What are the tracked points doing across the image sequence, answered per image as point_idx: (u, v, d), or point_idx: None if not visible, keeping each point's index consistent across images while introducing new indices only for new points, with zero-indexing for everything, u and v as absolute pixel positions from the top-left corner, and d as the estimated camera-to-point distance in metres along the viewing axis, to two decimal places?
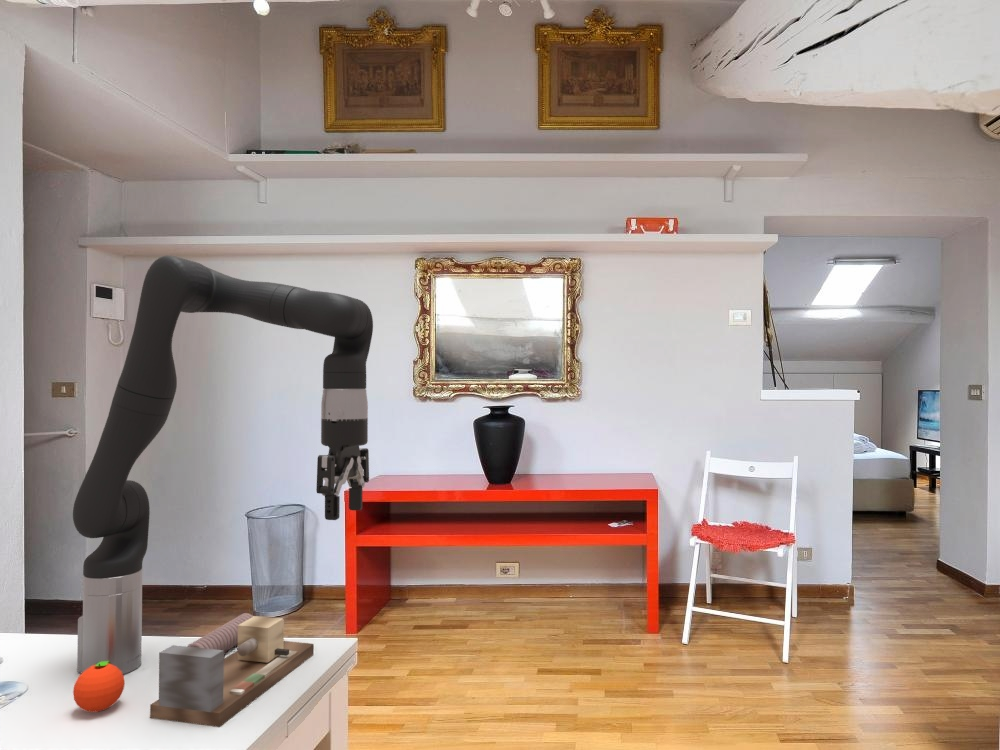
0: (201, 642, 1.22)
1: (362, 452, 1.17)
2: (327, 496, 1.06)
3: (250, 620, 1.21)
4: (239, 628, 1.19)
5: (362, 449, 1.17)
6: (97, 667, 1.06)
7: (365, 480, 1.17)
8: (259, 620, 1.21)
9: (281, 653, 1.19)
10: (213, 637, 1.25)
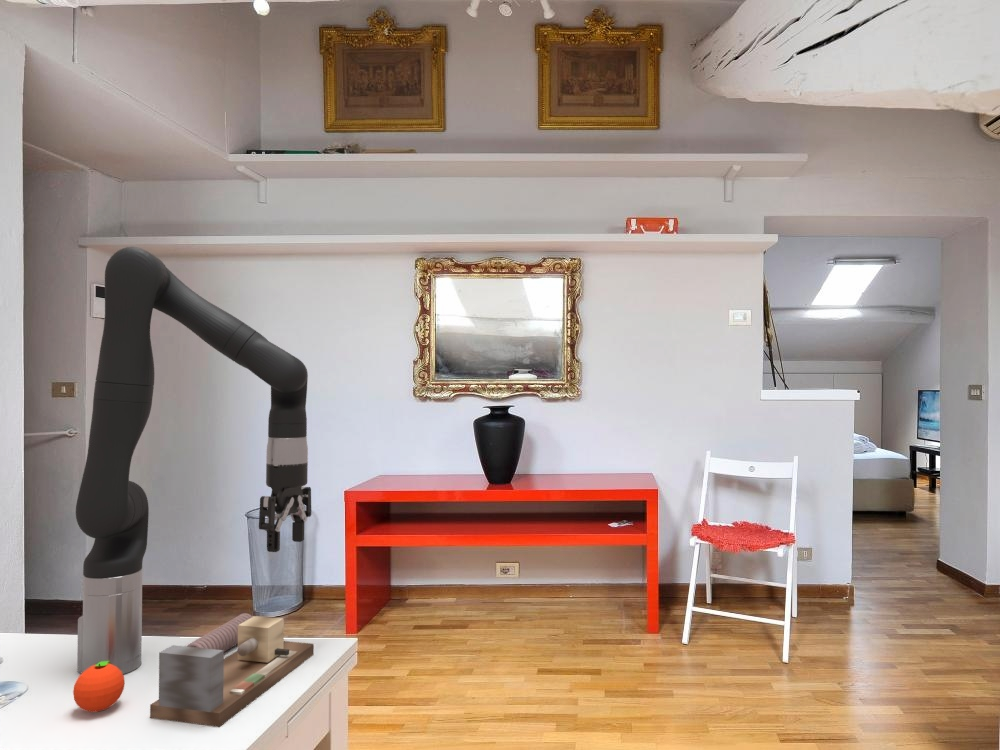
0: (200, 642, 1.22)
1: (305, 490, 1.33)
2: (268, 531, 1.23)
3: (250, 620, 1.21)
4: (239, 628, 1.19)
5: (305, 488, 1.34)
6: (97, 667, 1.06)
7: (307, 515, 1.33)
8: (259, 620, 1.21)
9: (281, 653, 1.19)
10: (212, 637, 1.25)
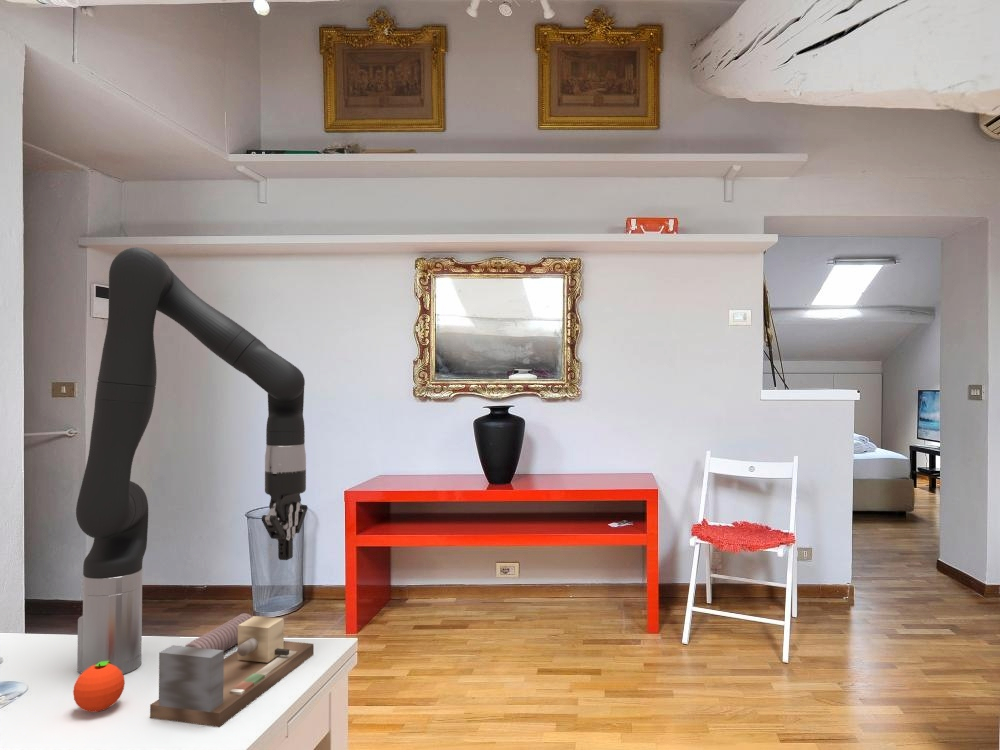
0: (199, 642, 1.22)
1: (302, 506, 1.34)
2: (280, 540, 1.27)
3: (250, 620, 1.21)
4: (239, 628, 1.19)
5: (302, 505, 1.34)
6: (97, 667, 1.06)
7: (296, 531, 1.30)
8: (259, 620, 1.21)
9: (281, 653, 1.19)
10: (211, 637, 1.25)
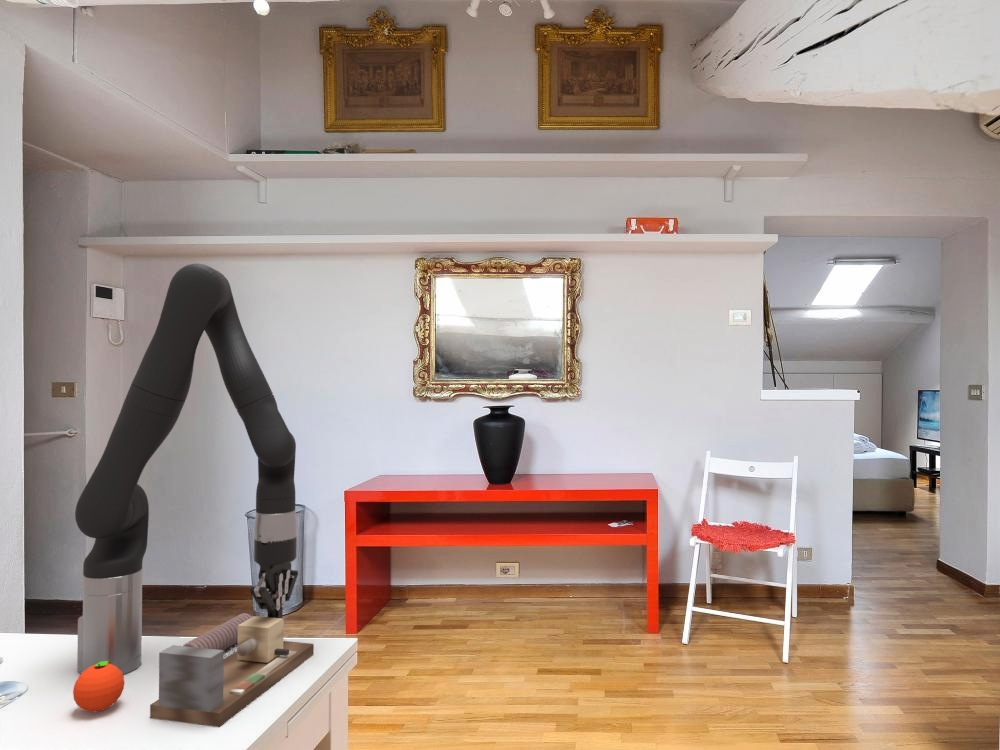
0: (196, 642, 1.22)
1: (292, 572, 1.30)
2: (269, 610, 1.24)
3: (250, 620, 1.21)
4: (239, 628, 1.19)
5: (293, 570, 1.31)
6: (97, 667, 1.06)
7: (286, 599, 1.27)
8: (259, 620, 1.21)
9: (281, 653, 1.19)
10: (209, 637, 1.25)
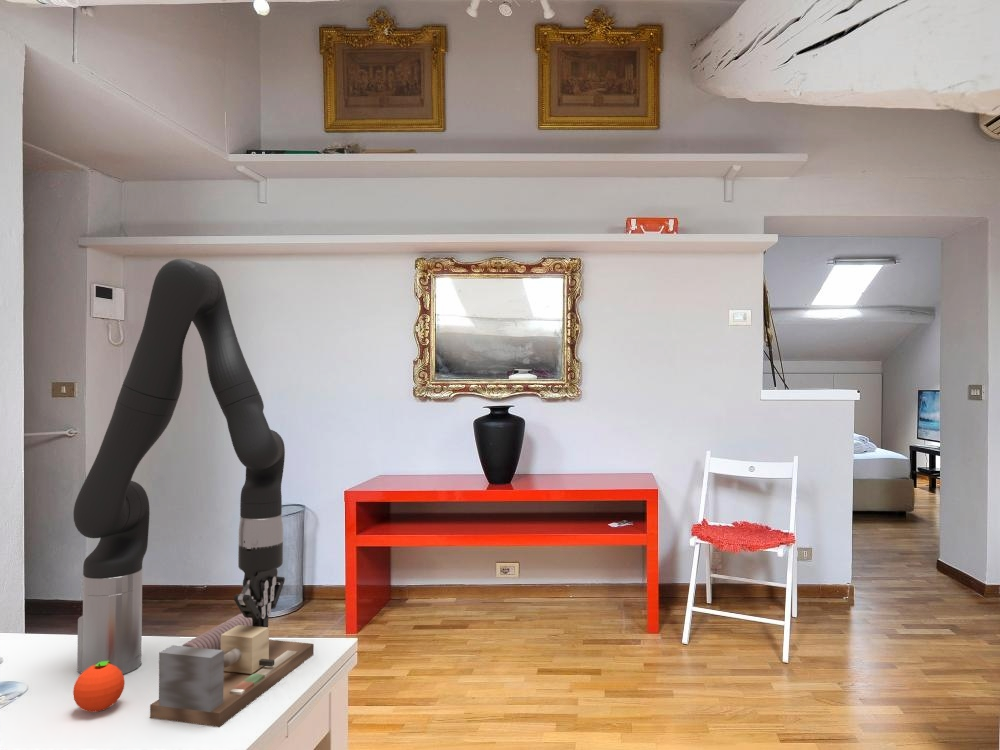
0: (195, 642, 1.22)
1: (279, 578, 1.26)
2: (254, 619, 1.19)
3: (234, 629, 1.17)
4: (222, 638, 1.14)
5: (279, 577, 1.26)
6: (97, 667, 1.06)
7: (272, 607, 1.22)
8: (243, 629, 1.17)
9: (266, 664, 1.14)
10: (208, 637, 1.25)
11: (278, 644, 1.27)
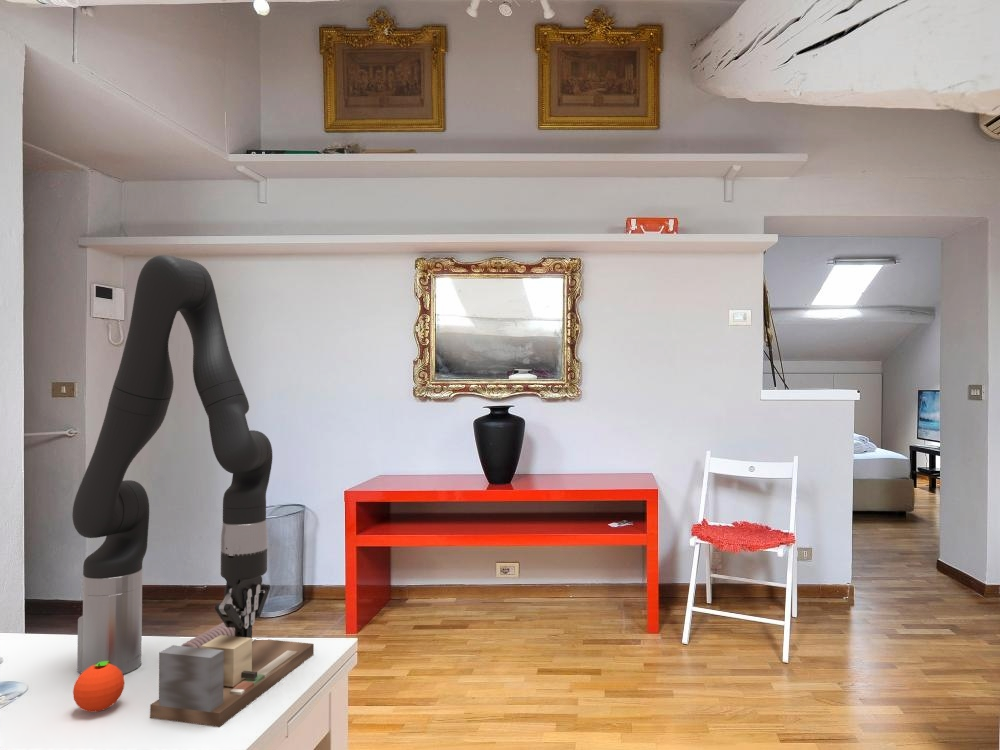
0: (195, 642, 1.22)
1: (264, 586, 1.21)
2: (237, 628, 1.14)
3: (215, 640, 1.12)
4: None
5: (264, 584, 1.21)
6: (97, 667, 1.06)
7: (256, 616, 1.18)
8: (225, 640, 1.12)
9: (248, 676, 1.10)
10: (207, 637, 1.25)
11: (278, 644, 1.27)
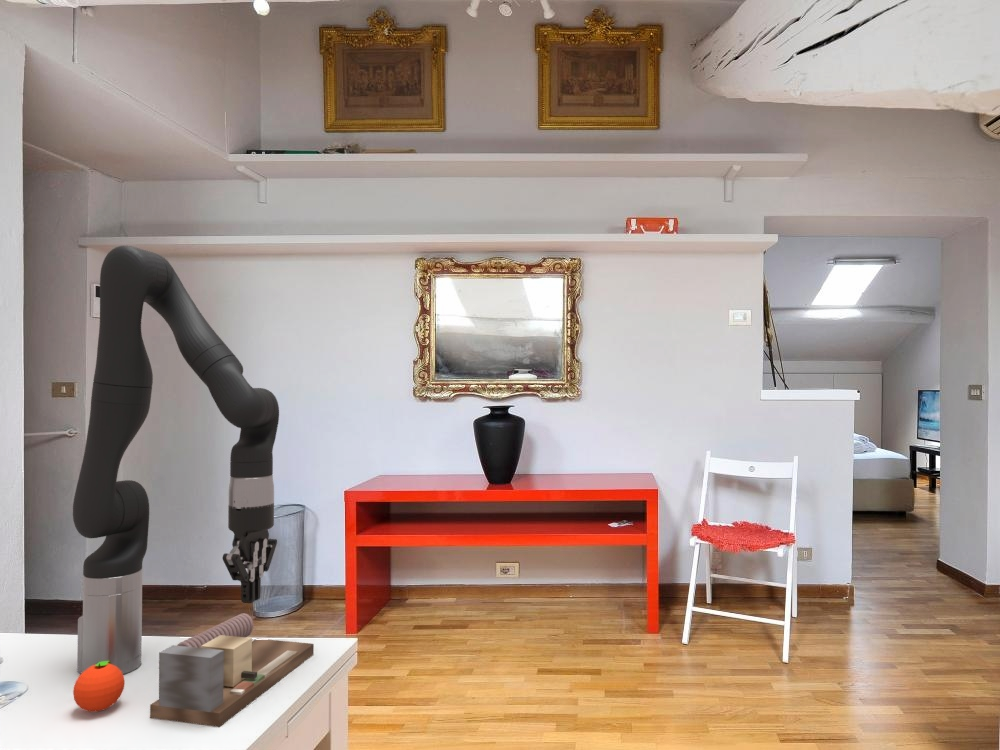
0: (190, 641, 1.22)
1: (271, 541, 1.23)
2: (243, 582, 1.16)
3: (215, 640, 1.12)
4: None
5: (271, 539, 1.23)
6: (97, 667, 1.06)
7: (264, 569, 1.20)
8: (225, 640, 1.12)
9: (248, 676, 1.10)
10: (204, 637, 1.25)
11: (278, 644, 1.27)
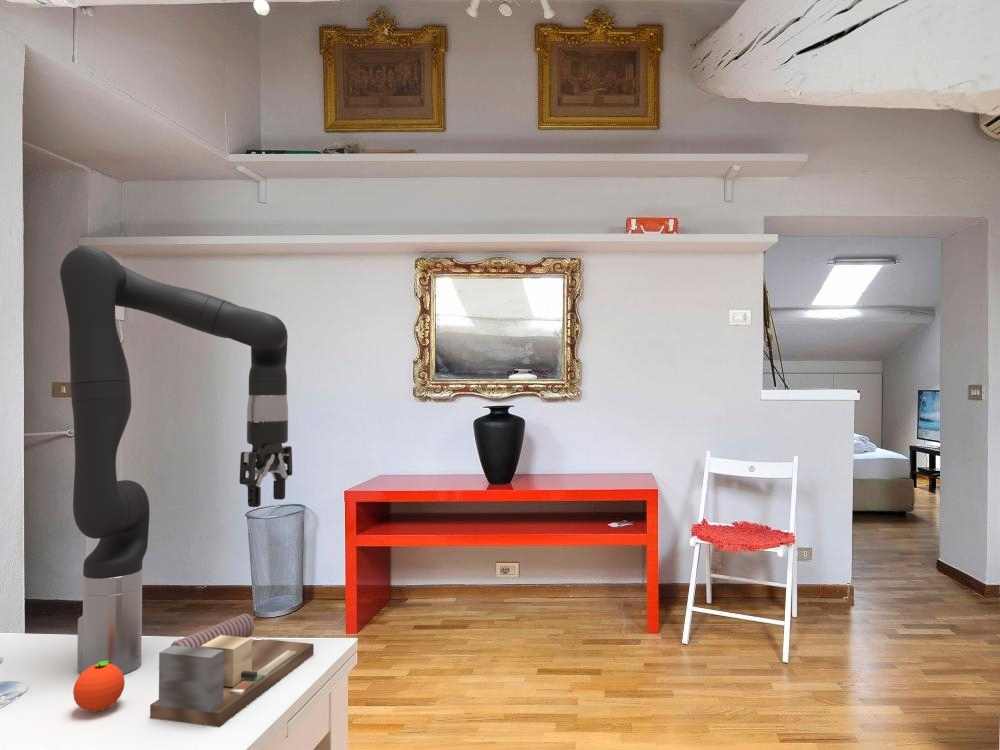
0: (184, 641, 1.22)
1: (286, 449, 1.35)
2: (249, 486, 1.25)
3: (215, 640, 1.12)
4: None
5: (286, 447, 1.36)
6: (97, 667, 1.06)
7: (288, 473, 1.35)
8: (225, 640, 1.12)
9: (248, 676, 1.10)
10: (199, 636, 1.25)
11: (278, 644, 1.27)
